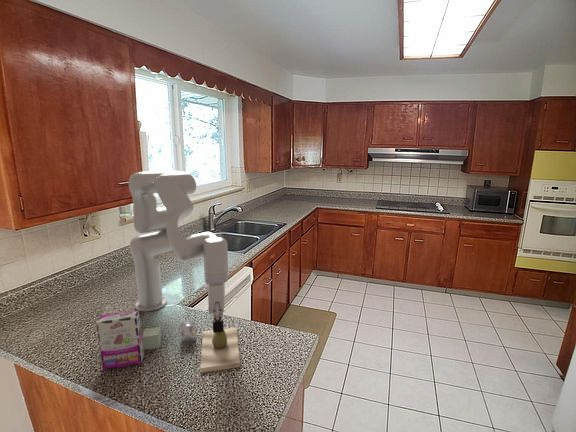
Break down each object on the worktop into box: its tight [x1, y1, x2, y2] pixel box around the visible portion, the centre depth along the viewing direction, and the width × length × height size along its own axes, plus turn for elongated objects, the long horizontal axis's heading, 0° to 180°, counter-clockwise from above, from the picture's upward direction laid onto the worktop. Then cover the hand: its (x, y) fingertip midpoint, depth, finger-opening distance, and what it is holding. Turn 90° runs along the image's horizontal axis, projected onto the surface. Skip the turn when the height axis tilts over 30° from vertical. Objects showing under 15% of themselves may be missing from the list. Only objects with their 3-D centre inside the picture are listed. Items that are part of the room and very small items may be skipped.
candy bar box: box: [96, 309, 145, 371], centre depth 98 cm, size 11×5×16 cm, turn 105°
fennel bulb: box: [212, 328, 227, 349], centre depth 104 cm, size 6×5×12 cm
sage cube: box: [142, 326, 162, 351], centre depth 108 cm, size 5×5×5 cm
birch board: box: [199, 327, 241, 373], centre depth 106 cm, size 20×12×2 cm, turn 13°
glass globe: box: [179, 320, 197, 345], centre depth 111 cm, size 5×5×6 cm
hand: (218, 323), depth 104 cm, fingers open, 9 cm apart
